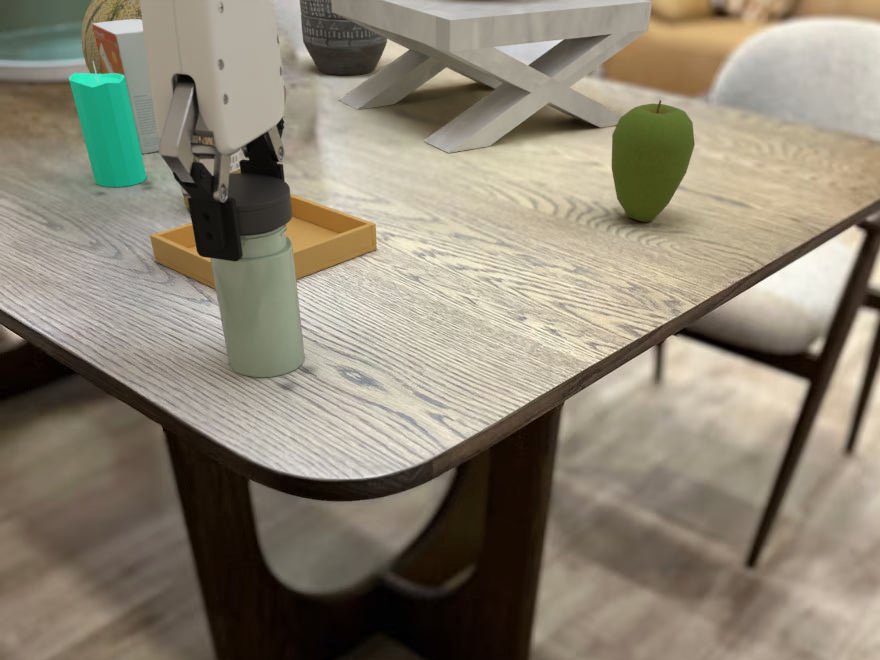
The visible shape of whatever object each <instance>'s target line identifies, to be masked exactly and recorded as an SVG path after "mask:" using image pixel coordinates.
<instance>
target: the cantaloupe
mask: <svg viewBox="0 0 880 660" xmlns="http://www.w3.org/2000/svg"><path fill="white" fill-rule="evenodd" d="M87 7H88V8H87V9H86V11H85V13H84V17H83V21H82V25H81V40H80V41H81V42H80V43H81V51H82V55H83V58H84V62H85V65H86V67H87V70H88V73H94V74H95V70H94V66H93V62H92V61H94V64H95V69H96V73H97V74H103V70H102V65H101V61H100V57H99V52H98V48H97V43H96V39H95V35H94V31H93V27H92V23H100V22H108V21H117V20H129V19H140V20H142V13H141V0H91V1H90V3H89V4H88V6H87Z"/></svg>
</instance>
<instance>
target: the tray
mask: <svg viewBox="0 0 880 660" xmlns="http://www.w3.org/2000/svg"><path fill="white" fill-rule="evenodd" d="M290 195H291V206H292V218H291V220H290V221H289V222H288V223H287V224H286V227H287V230H286V237H288V238H289V239H290V240H291V242H292V246H293V255H294V264H295V273H296V280H299V279H302V278H304V277H307V276H309V275H312V274H315V273H317V272H318V273H319V272H320V271H323V270H326V269H328V268H331V267H333V266H336V265H339V264H341V263H344V262H346V261H349V260H352V259H355V258H357V257H360V256H363V255H365V254H368V253H370V252H373V251H376V250H377V249H378V247H377V245H378V244H377V224H376V223H375V222H371V221H368V220H367V219H363V218H361V217H359V216H355V215H352V214H349V213H346V212H343V211H341V210H338V209H335V208H332V207H330V206H327V205H323V204H320V203H318V202H315V201H313V200H309V199H307V198H303V197H300V196H297V195H295V194H292V193H290ZM149 238H150V243H151V246H152V252H153V256H154V261H155V262H156V263H158V264H160V265H163V266H164V267H167V268H169V269H171V270H173V271H176V272H177V273H179V274H182V275H184V276H187V277H188V278H191V279H192V280H194V281H197V282H199V283H201V284H203V285H205V286H208V287H210V288H212V289H214V290H216V287H215V282H214V276H213V270H212V265H211V259H210V258H207V257H202V256H200V255H199V254H198V252H197V249H196V243H195V237H194V232H193V226H192V222H188V223H186V224H183V225H178V226H176V227H171V228H168V229H165V230H163V231H158V232H156V233H152V234H150V235H149Z"/></svg>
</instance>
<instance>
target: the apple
mask: <svg viewBox="0 0 880 660" xmlns="http://www.w3.org/2000/svg"><path fill="white" fill-rule="evenodd" d="M693 122H694V121H692V119H691V118H690V117H689V115H688V114H687V113H686V111H685V110H683V109H681V108H678V107H675V106H672V105H668V104H664V103H662V100H661V99H659V102H658V103H647V104H642V105H638V106H635V107H633V108H632V109H630V110H629V111H627V112H626V113H625V114H623V115H622V117H621V118H620V119H619V121H618V124H617V125H615V128H614V130H613V132H612V135H611V172H612V178H613V183H614V189H615V195H616V200H617V201H618V203H619V204H620V206H621V208H622V209H623V211H624V212H625V215H626V216H627V217H628V218H630V219H633V220H636V221H639V222H643V223H648V222H652V221H654V220H655V219H656V218H657V217H658V216H659V215H660V214H661V212H662V211H664V209H666V207H667V206H668V205H669V204H670V202H671V200H672V199H673V197H674V196H675V193H676V192H677V190H678V188H679V186H680V184H681V183H682V181H683V180H684V178H685V176H686V174H687V171H688V169H689V165H690V162H691V158H692V155H693V152H694V149H695V145H696V143H695V133H694V123H693Z"/></svg>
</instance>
